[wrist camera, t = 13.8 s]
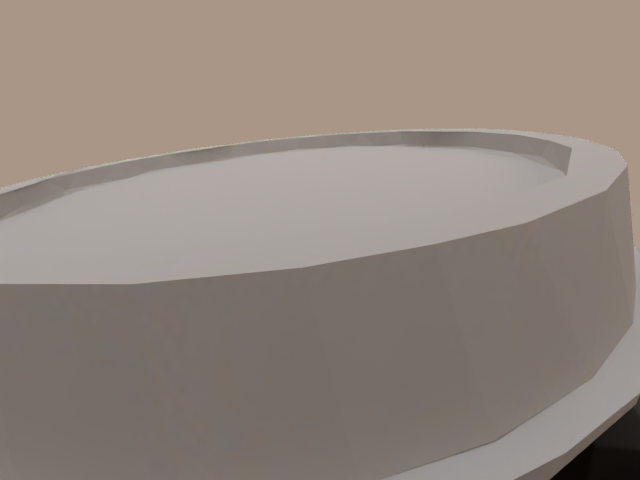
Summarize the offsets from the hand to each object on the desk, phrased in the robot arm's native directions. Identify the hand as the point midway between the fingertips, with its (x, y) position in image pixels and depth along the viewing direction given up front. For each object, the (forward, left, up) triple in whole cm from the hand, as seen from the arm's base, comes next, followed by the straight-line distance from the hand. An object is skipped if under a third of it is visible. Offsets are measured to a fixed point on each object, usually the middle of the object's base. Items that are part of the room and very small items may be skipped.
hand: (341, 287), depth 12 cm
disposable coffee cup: (0, +5, -7) cm, 9 cm away
